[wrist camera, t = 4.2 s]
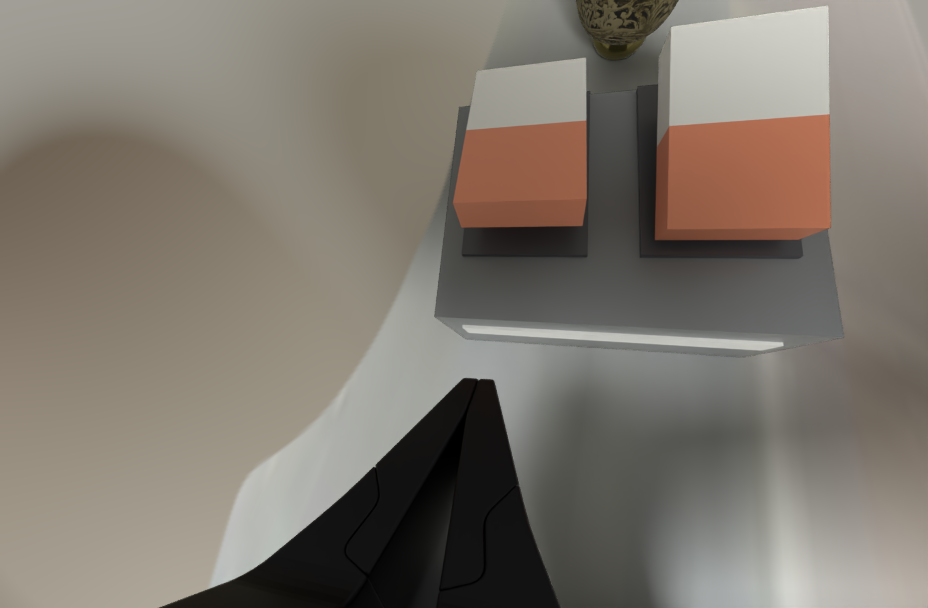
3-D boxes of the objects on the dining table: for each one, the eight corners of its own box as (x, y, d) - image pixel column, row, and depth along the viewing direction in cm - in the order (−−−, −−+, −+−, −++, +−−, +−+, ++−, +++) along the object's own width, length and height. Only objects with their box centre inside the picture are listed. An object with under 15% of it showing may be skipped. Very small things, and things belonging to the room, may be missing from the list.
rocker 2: (791, 242, 14) (830, 227, 12) (652, 242, 15) (667, 229, 13) (790, 49, 14) (828, 5, 12) (656, 64, 16) (671, 26, 14)
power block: (744, 359, 20) (851, 340, 13) (465, 341, 23) (431, 318, 17) (727, 168, 22) (807, 67, 16) (481, 179, 26) (457, 102, 19)
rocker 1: (581, 231, 14) (586, 198, 13) (463, 233, 16) (453, 202, 14) (582, 99, 18) (586, 57, 16) (483, 108, 19) (477, 70, 17)
